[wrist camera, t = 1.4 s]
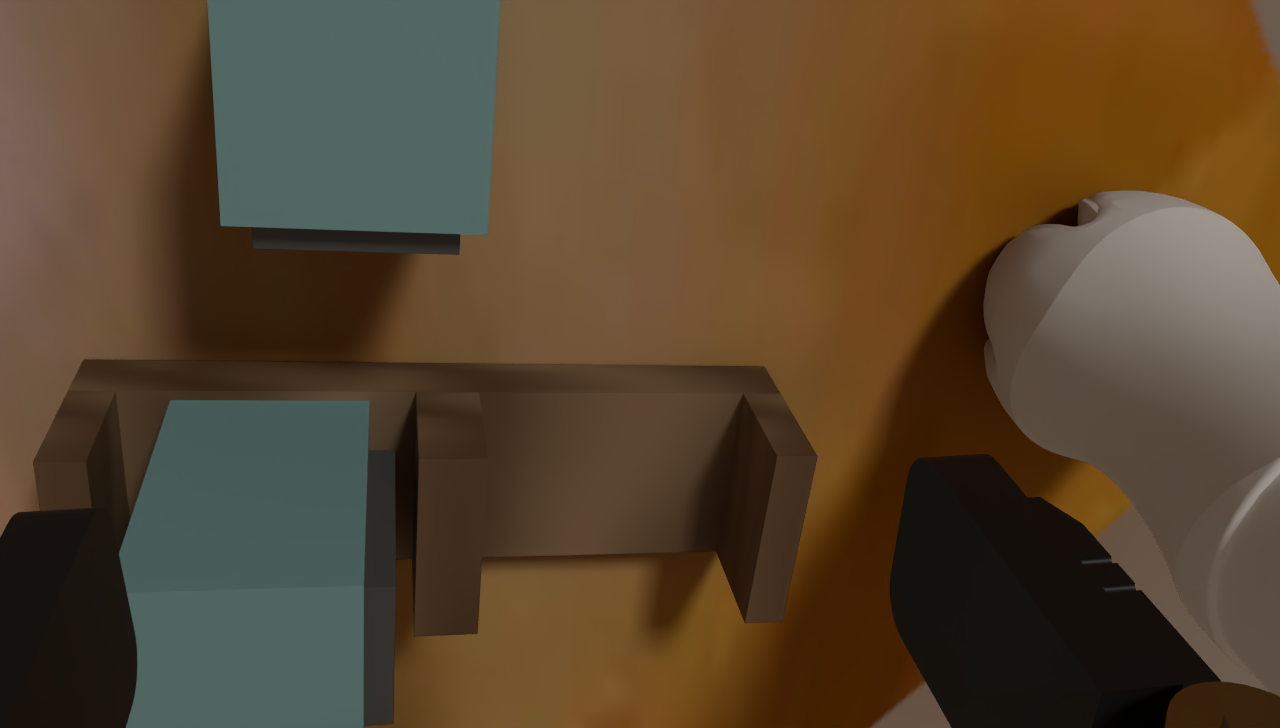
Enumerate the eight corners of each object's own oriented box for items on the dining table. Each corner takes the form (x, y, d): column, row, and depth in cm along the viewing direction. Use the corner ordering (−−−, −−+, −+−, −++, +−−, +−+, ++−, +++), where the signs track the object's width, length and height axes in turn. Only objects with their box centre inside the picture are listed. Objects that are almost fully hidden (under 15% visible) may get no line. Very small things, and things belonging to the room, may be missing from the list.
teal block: (252, -107, 24) (204, -53, 18) (473, -86, 25) (501, -28, 18) (261, 137, 26) (222, 259, 20) (464, 147, 27) (486, 266, 21)
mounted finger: (183, 556, 29) (128, 774, 23) (170, 400, 27) (106, 593, 21) (392, 551, 30) (393, 758, 24) (395, 400, 28) (396, 584, 22)
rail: (104, 531, 30) (61, 650, 26) (83, 359, 27) (32, 461, 24) (736, 519, 33) (782, 621, 30) (764, 366, 31) (817, 455, 27)
